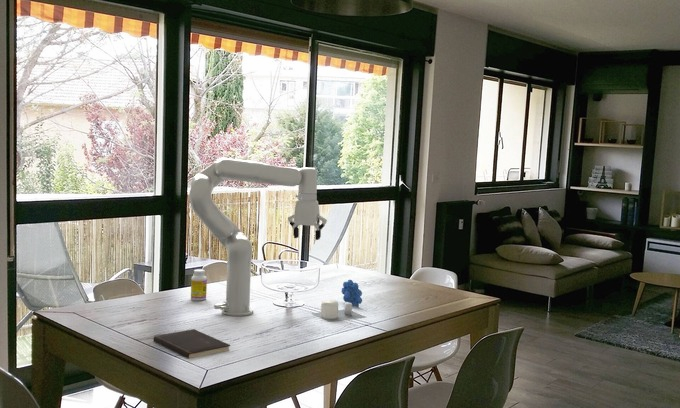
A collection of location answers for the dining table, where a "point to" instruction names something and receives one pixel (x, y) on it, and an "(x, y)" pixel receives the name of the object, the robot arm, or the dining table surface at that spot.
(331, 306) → the cap
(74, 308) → the dining table surface
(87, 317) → the dining table surface
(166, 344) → the hardcover book
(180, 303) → the dining table surface
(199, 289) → the supplement bottle
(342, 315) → the board
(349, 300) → the grapes
